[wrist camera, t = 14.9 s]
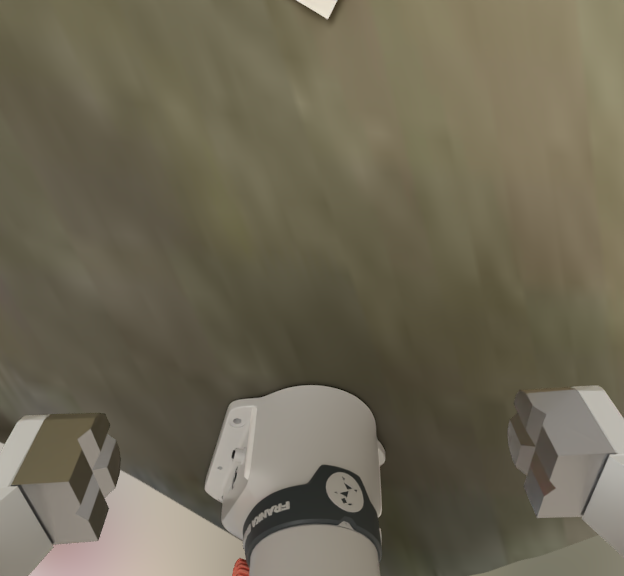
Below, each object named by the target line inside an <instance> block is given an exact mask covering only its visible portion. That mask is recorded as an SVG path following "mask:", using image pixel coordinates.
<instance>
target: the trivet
mask: <svg viewBox="0 0 624 576" xmlns="http://www.w3.org/2000/svg"><path fill="white" fill-rule="evenodd" d="M297 1H298V2H300V3H302V4H303V5H305V6H307V7H308V8H310V9H312V10H313V11H315V12H317V13H318V14H320V15H322V16H323V17H325V18H327V19H328V18H329V16H330V14H331V12H332V10H333V8H334V6H335V4H336V2H337V0H297Z"/></svg>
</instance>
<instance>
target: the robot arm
mask: <svg viewBox="0 0 624 576" xmlns="http://www.w3.org/2000/svg"><path fill="white" fill-rule="evenodd" d="M514 405H515V408H516V410H517V412H518V413H517V414H516V415H514V416H513V417H512V418H511V419H510V421H509V426H508V445H509V449H510V453H511V457H512V459H513V462H514V464H515V467H517V468H518V469H519V470H520V471H522V472H523V473H524V474H525V475H527V477H526V481H525V484H524V488H525V491H526V493H527V495H528V498H529V500H530V503H531V505H532V507H533V510H534V512H535V514H536V517H537V518H549V517H583V518H582V519H583V520H584V521H585V522H586V523H587V524H588V525H589V526H590V527H591V528H592V529H593V530H594V531H595V532H596V533H598V534H599V535H600V536H601V537H602V538H603V539H604V540H605V541H606V542H607V543H608V544H609V545H610V546H611V547H613V548H614V549H615V550H616V551H617V552H618V553H619V554H620V555H621V556H622V557H623V558H624V418H623V417H622V415H621V414H620V412H619V411H618V410H617V408H616V407H615V405H614V404H613V402H612V401H611V399H610V398H609V396H608V395H607V394H606V392H605V391H604V389H603V388H601V387H600V386H598V385H594V386H578V387H559V388H543V389H528V390H520V391H519V392H518V393H517V394H516V397H515V401H514ZM237 418H238V419H237ZM109 428H110V423H109V421H108V419H107V417H106V414H104V413H76V414H50V415H25V416H24V417H23V418H21V419H20V420H19V421H18V422H17V424H16V425H15V427H14V429H13V431H12V432H11V434H10V436H9V438H8V439H7V441H6V443H5V445H4V446H3V448H2V450H1V452H0V576H28V575H29V574H30V573H31V572H32V571H33V570H34V569H35V568H36V566H37V565H38V564H39V563H40V562H41V561H42V560H43V559H44V557H45V556H46V555H47V554H48V553H49V552H50V551H51V549H52V548H53V545H54V544H67V543H79V542H91V541H98V540H99V537H100V534H101V531H102V528H103V525H104V522H105V519H106V516H107V512H108V509H109V508H108V506H107V503H106V501H105V499H104V498H105V497H106V496H107V495H108V494H109V493H110V492H111V491H112V490H114V489H115V487H116V484H117V481H118V477H119V473H120V462H121V458H120V450H119V446H118V444H117V441H116V440H115V439H114V438H112V437H111V436H109V435H108V434H107V433H108V430H109ZM384 462H385V450H384V448H383V446H382V445H381V443H380V442H379V441H378V439H377V436H376V422H375V419H374V416H373V414H372V412H371V411H370V409H369V408H368V407H367V406H366V404H364V403H363V402H362V401H361V400H360V399H358V398H357V397H355V396H354V395H352V394H350V393H348V392H345V391H343V390H340V389H336V388H332V387H327V386H319V385H303V386H295V387H290V388H286V389H282V390H279V391H276V392H274V393H271V394H269V395H267V396H264V397H260V398H249V399H240V400H236V401H233V402H231V403H230V405H229V406H228V409H227V412H226V416H225V419H224V422H223V425H222V428H221V432H220V435H219V438H218V441H217V444H216V448H215V451H214V454H213V457H212V460H211V464H210V467H209V470H208V473H207V476H206V480H205V491H206V492H207V493H208V494H209V495H211V496H212V497H213V498H215V499H216V500H218V501H219V502H221V503H223V504H222V514H221V521H222V524H223V526H224V527H225V528H226V529H227V530H228V531H229V532H230V533H231V534H233V535H234V536H236V537H238V538H240V539H241V540H243V549H245V555H246V560H244V559H241V558H240V559H238V560H237V561H236V563H235V567H234V569H233V574H232V576H381V575H380V568H379V563H380V561H381V558H382V547H381V545H382V543H381V542H382V540H381V539H382V535H381V529H380V528H379V521H378V517H380V515H381V512H382V500H381V481H380V466H381V465H382V464H383V463H384Z"/></svg>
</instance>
